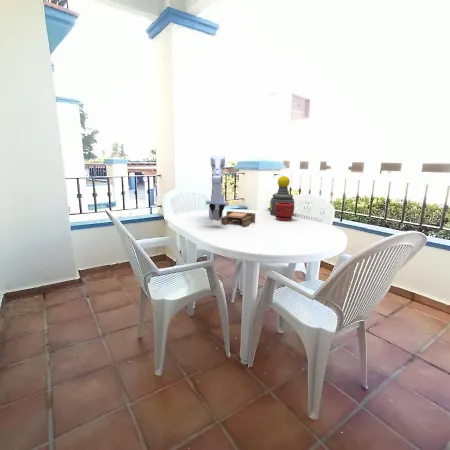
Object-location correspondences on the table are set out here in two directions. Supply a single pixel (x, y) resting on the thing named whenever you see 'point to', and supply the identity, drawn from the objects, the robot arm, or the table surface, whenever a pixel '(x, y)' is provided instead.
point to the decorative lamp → (281, 195)
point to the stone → (216, 215)
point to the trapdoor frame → (245, 221)
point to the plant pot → (284, 211)
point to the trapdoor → (237, 215)
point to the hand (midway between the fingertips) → (217, 216)
